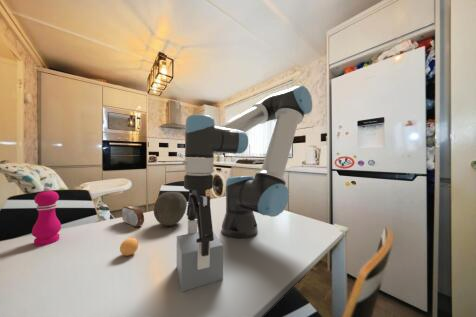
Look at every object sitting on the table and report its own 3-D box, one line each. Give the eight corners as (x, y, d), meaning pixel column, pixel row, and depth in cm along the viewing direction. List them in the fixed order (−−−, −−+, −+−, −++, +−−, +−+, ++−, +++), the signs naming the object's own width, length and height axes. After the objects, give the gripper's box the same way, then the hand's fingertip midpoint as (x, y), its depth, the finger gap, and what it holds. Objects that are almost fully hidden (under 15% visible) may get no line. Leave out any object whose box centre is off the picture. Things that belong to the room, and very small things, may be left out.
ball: (138, 248, 59) (138, 234, 59) (137, 256, 55) (137, 240, 55) (121, 252, 57) (121, 236, 57) (118, 260, 53) (118, 243, 53)
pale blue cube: (211, 258, 54) (211, 229, 54) (222, 279, 45) (223, 244, 45) (176, 266, 50) (176, 236, 50) (181, 291, 41) (181, 254, 41)
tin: (144, 227, 78) (144, 208, 78) (137, 229, 75) (137, 209, 75) (127, 220, 86) (127, 203, 86) (120, 222, 83) (120, 204, 83)
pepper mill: (46, 237, 67) (46, 185, 67) (66, 236, 68) (66, 185, 68) (25, 247, 60) (24, 188, 60) (48, 246, 61) (47, 188, 60)
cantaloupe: (186, 228, 76) (186, 194, 76) (150, 232, 72) (151, 196, 72) (186, 217, 90) (186, 188, 90) (156, 220, 86) (156, 189, 86)
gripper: (178, 170, 57) (176, 236, 57) (194, 179, 34) (191, 288, 34) (201, 170, 60) (200, 232, 60) (229, 178, 38) (227, 278, 37)
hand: (197, 253), depth 47 cm, fingers open, 13 cm apart
